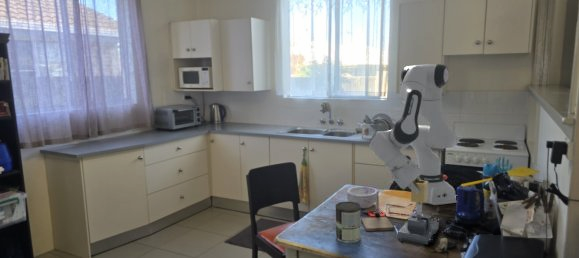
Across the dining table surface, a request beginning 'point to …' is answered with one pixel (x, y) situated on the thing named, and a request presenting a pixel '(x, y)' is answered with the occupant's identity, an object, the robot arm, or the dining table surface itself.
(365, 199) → the white bowl
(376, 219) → the walnut board
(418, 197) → the pale yellow block
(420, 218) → the vise
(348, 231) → the coffee can
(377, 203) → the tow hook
